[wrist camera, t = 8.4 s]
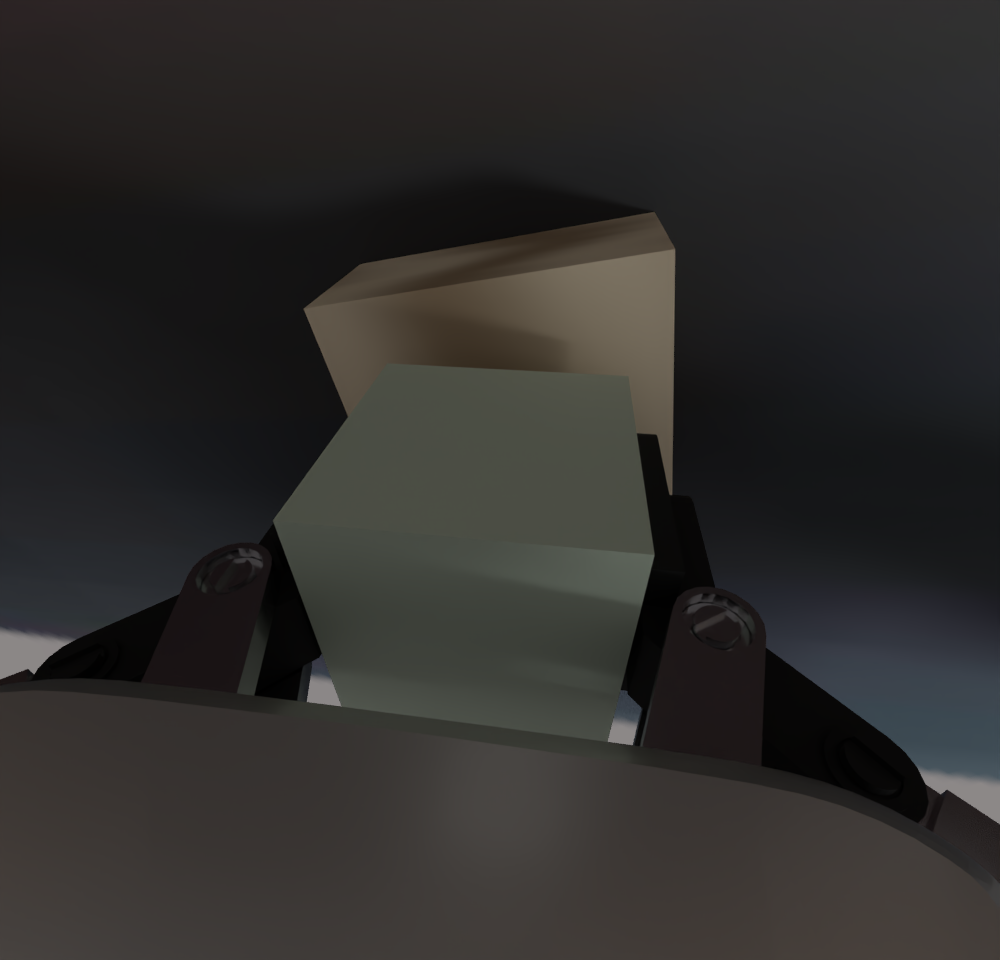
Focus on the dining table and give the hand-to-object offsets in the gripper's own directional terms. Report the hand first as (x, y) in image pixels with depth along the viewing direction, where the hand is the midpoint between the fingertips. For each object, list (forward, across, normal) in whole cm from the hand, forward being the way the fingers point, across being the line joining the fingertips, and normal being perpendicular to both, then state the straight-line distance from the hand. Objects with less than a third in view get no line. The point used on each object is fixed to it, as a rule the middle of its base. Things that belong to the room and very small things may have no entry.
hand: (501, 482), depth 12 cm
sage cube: (+1, 0, 0) cm, 1 cm away
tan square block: (+6, 0, 0) cm, 6 cm away
